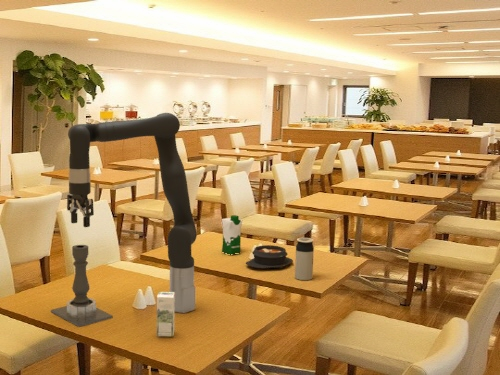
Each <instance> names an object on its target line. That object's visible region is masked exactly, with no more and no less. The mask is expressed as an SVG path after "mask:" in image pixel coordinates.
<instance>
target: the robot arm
mask: <svg viewBox="0 0 500 375" xmlns="http://www.w3.org/2000/svg"><path fill="white" fill-rule="evenodd" d="M180 126H181V123H180V120H179V118H178V117H177V116H176V115H175V114H173V113H170V112H162V113H159V114H157V115H156V116H152V117H149V118H148V117H147V118H142V119H131V120H130V119H129V120H114V121H112V120H111V121H103V122H99V123H80V124H74V125H72V126H70V128H69V129H68V132H67V136H68V139H69V150H70V151H69V152H70V153H69V157H68V166H69V169H68V171H69V172H68V194H67V198H66V210H67V211H68V212H69V213H70V223H71V224H77V223H78V211H80V212H81V213H82V216H83V218H82V223H83V227H84V228H89V227H90V226H91V219H90V218H91V216H94V212H95V211H94V199H93V198H88V195H90V194H91V193H92V192H91V191H92V190H91V188H92V187H91V169H90V149H91V148H90V147H91V143H94V142H95V143H96V142H99V143H106V142H114V141H115V142H116V141H122V140H128V139H135V138H140V137H141V138H142V137H154V141H155V144H156V149H157V153H158V162H159V171H160V179H161V184H162V189H163V193H164V196H165V198H166V200H167V202H168V204H169V205H170V206H169V207H170V209H171V210H172V215H173V221H174V222H173V224H174V226H173V227H172V228H170V229H169V231H168V235H167V252H168V253H167V257H168V258H167V259H168V261H169V292H175V311H174V313H180V314H186V313H188V312H192V311H194V310H196V286H195V258H194V257H193V255H192V245H193V244H194V243H195V241H196V239H197V234H198V232H197V228H196V224H195V220H194V217H193V214H192V208H191V204H190V195H189V188H188V181H187V175H186V171H185V167H184V165H183V161H182V159H181V156H180V153H179V151H178V148H177V147H178V146H177V141H176V140H177V139H176V135H177V133H178V132H179V130H180Z"/></svg>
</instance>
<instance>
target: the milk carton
mask: <svg viewBox="0 0 500 375" xmlns="http://www.w3.org/2000/svg"><path fill="white" fill-rule="evenodd" d="M239 217H240V216H239V215H230V217H227V218H226V217H225V218H221V222H222V223H221V224H222V249H221V253H222V252H224V253H227V254H230V255H231V254H235V253H240V252H241V253H242V250H241V249H242V246H241V237H242V236H241V234H242V224H243V219H240V218H239Z"/></svg>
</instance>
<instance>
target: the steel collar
mask: <svg viewBox="0 0 500 375" xmlns="http://www.w3.org/2000/svg"><path fill="white" fill-rule="evenodd" d="M88 298H89V301H88V302H89V303H90V305H86V306H73V305H72V304H73V303H74V302H73V299H74V298H72V299H69V300H67V301H66V306H60V307H57V308H54V309H50V313H52V314H54V315H56V316H58V317H59V318H61V319H63V320H65V321H67V322H68V321H69V322H68V323H70V322H71V324H72V325H74V326H76V327H77V328H81V327H83V326H84V327H85V326H89V325H91V324H96V323H99V322H102V321H105V320H106V321H107V320H110V319H113V318H114V315H113V314H111V313H109V312H106V311H104V310H102V309H100V308H98V307H97V300H96V299H94V298H91V297H88Z"/></svg>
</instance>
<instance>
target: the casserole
mask: <svg viewBox="0 0 500 375" xmlns="http://www.w3.org/2000/svg"><path fill="white" fill-rule="evenodd" d="M251 253H252V255H253V258H252V259H250V260H247V261H246V262H245V265H246V266H249V267H251V268H256V269H268V268H274V269H279V268H283V267H286V266H288V265H289V264H291V263H293V262H294V260H293V259H292V258H290V257H287V256H288V252H287V251H286V248H284V247H283V246H278V245H271V244H270V245H269V244H268V245H267V244H265V245H258V246H256V247H254V250H253V251H252V252H251Z"/></svg>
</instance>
